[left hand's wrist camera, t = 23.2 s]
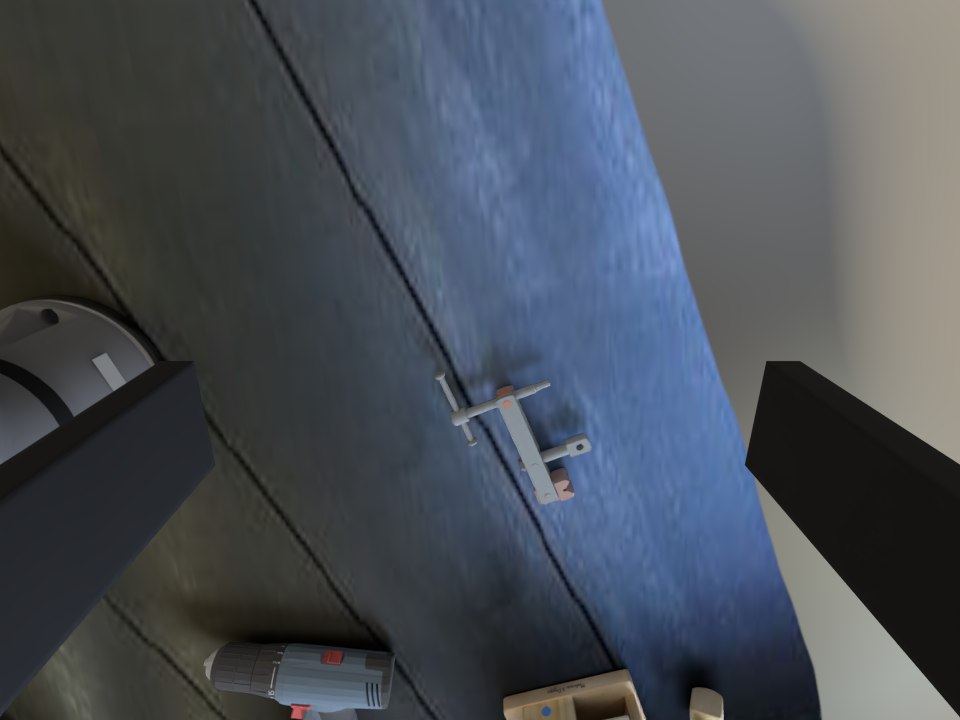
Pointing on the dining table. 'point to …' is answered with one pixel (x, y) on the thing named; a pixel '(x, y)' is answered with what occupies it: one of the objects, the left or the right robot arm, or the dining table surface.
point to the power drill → (306, 677)
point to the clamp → (524, 439)
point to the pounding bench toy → (600, 701)
